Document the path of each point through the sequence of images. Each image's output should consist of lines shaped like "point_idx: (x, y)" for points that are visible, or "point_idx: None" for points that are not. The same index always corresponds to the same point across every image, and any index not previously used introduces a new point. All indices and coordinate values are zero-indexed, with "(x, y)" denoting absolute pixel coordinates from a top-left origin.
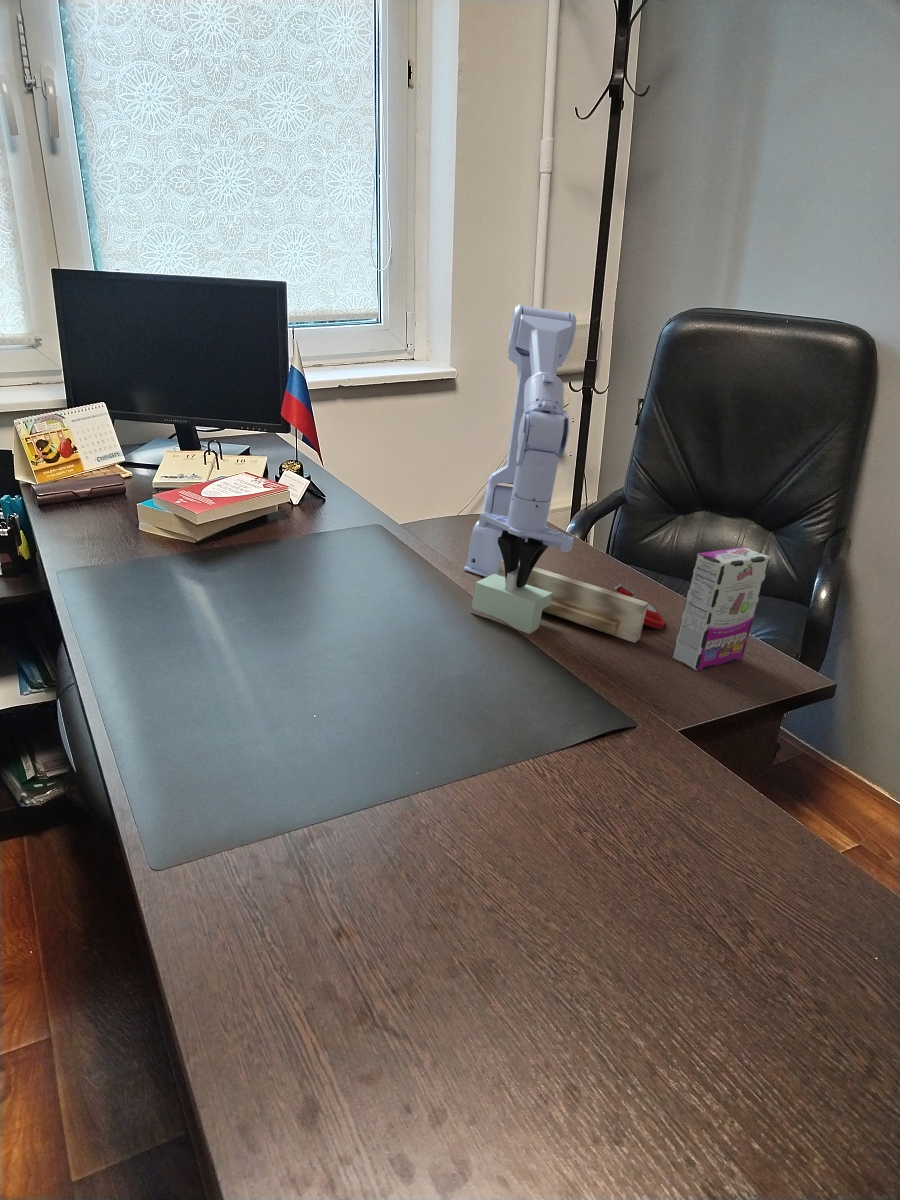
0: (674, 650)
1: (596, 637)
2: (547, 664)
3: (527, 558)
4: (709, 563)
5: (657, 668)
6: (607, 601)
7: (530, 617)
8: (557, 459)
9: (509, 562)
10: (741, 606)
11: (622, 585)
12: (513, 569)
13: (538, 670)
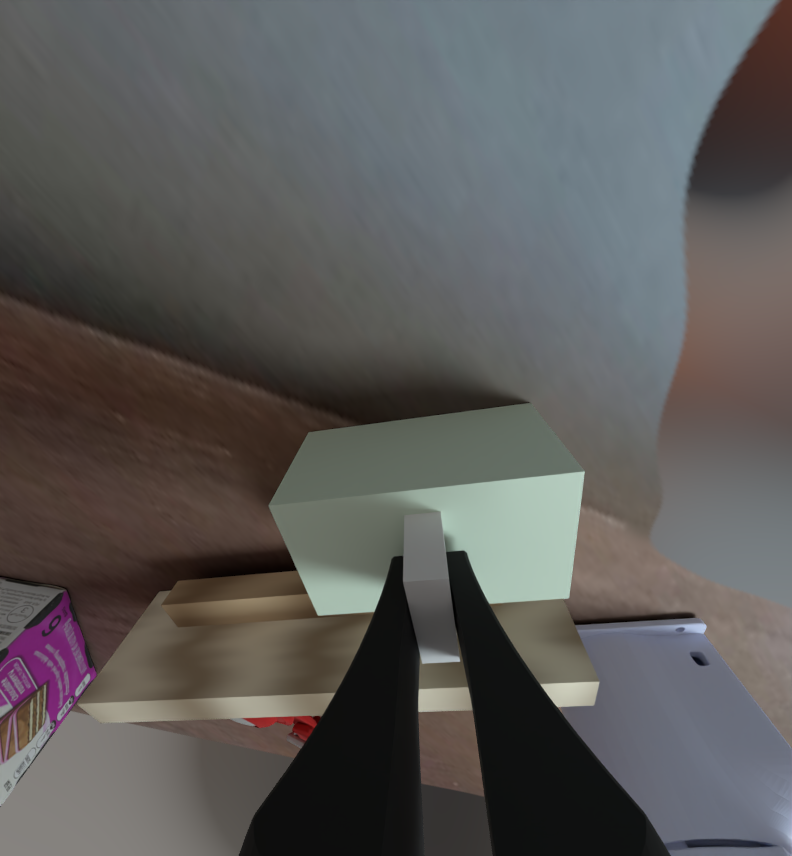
0: (45, 606)
1: (215, 553)
2: (92, 281)
3: (331, 738)
4: None
5: (20, 527)
6: (195, 672)
7: (298, 461)
8: None
9: (470, 654)
10: None
11: None
12: (458, 631)
13: (48, 196)
